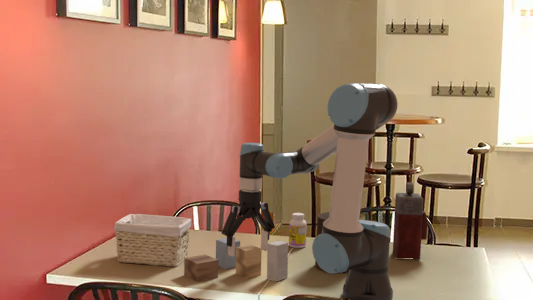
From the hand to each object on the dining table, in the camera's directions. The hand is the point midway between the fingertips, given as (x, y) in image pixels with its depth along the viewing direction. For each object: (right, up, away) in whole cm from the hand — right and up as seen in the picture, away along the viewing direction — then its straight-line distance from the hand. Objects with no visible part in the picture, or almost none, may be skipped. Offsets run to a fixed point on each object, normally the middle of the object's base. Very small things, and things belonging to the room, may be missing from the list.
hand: (247, 252), depth 224 cm
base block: (-15, -7, -3) cm, 17 cm away
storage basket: (-34, -5, +14) cm, 37 cm away
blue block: (-7, -6, +10) cm, 14 cm away
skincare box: (+10, -8, -3) cm, 13 cm away
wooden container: (+31, -7, +12) cm, 34 cm away
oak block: (0, -7, 0) cm, 7 cm away
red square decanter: (+60, -6, +28) cm, 66 cm away
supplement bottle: (+18, -4, +39) cm, 43 cm away
